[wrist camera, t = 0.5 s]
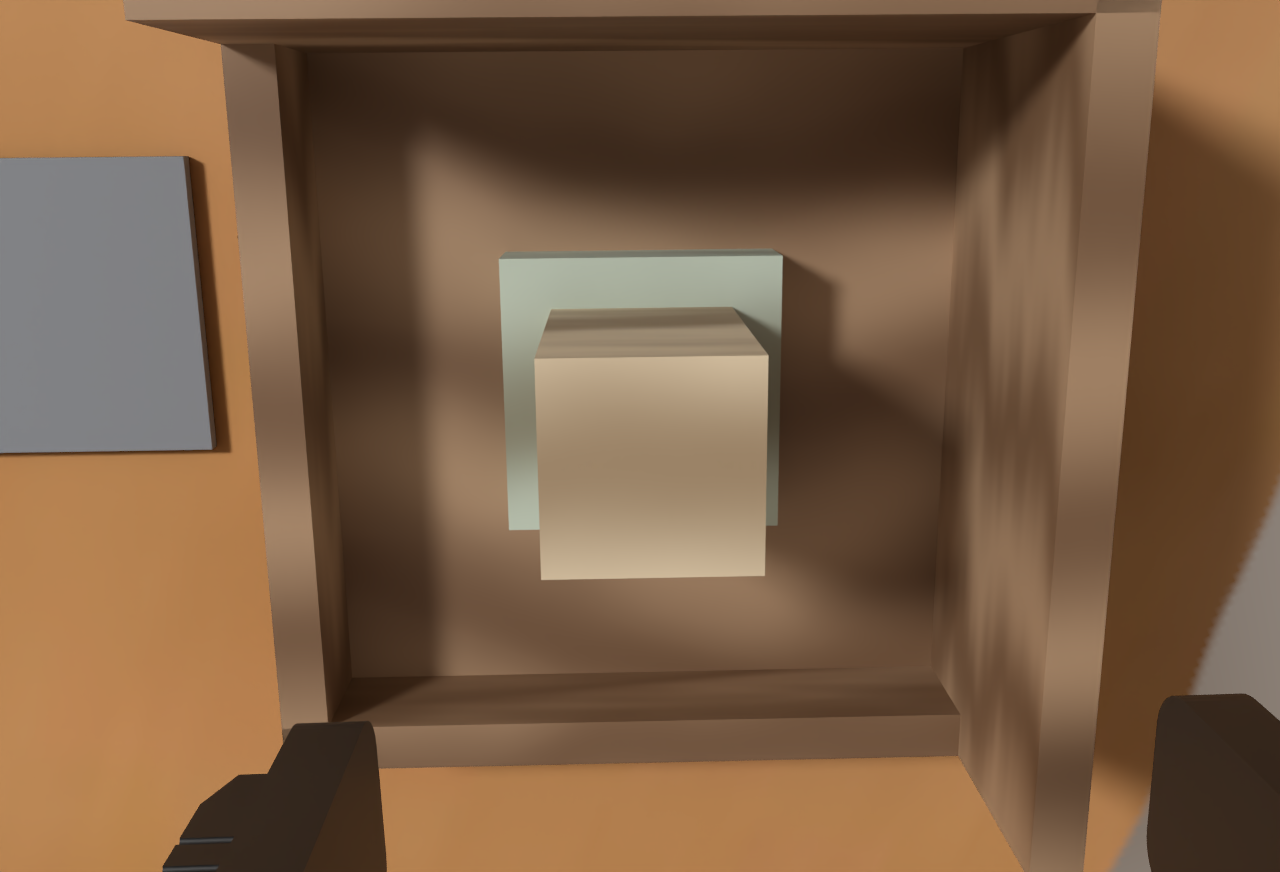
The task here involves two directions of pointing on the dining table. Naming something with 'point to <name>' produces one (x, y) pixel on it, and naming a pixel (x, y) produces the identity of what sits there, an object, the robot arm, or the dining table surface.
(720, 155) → the crate
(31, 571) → the dining table surface
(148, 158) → the felt pad
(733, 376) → the maple block
